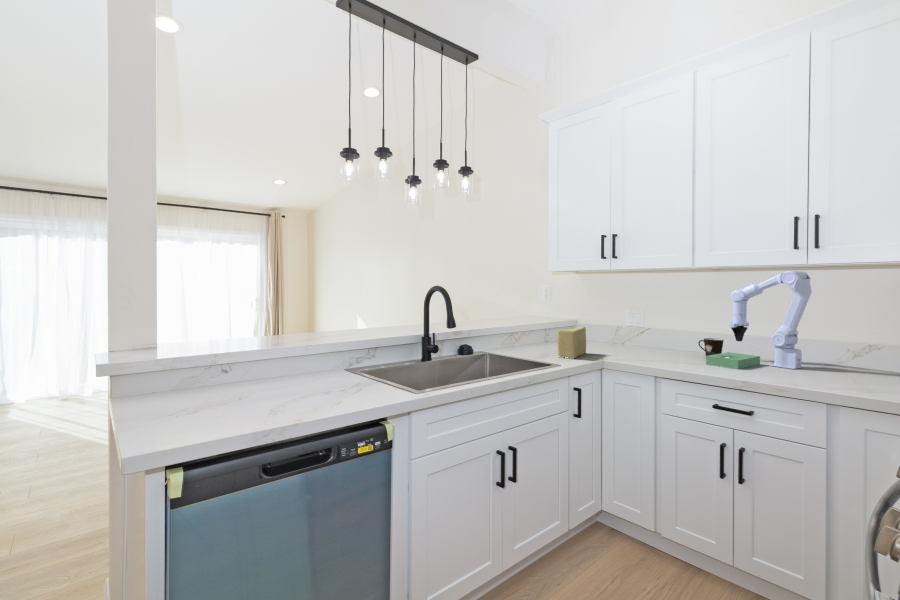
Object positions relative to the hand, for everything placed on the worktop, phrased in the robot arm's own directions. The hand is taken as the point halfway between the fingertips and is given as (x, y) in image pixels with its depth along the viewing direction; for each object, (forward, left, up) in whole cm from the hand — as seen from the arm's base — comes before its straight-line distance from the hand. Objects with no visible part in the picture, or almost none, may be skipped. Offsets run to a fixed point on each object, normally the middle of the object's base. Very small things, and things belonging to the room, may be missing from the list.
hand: (739, 341), depth 213 cm
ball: (-5, +21, -7) cm, 23 cm away
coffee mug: (+10, +6, -10) cm, 15 cm away
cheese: (+52, +60, -10) cm, 80 cm away
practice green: (-5, +16, -9) cm, 19 cm away
